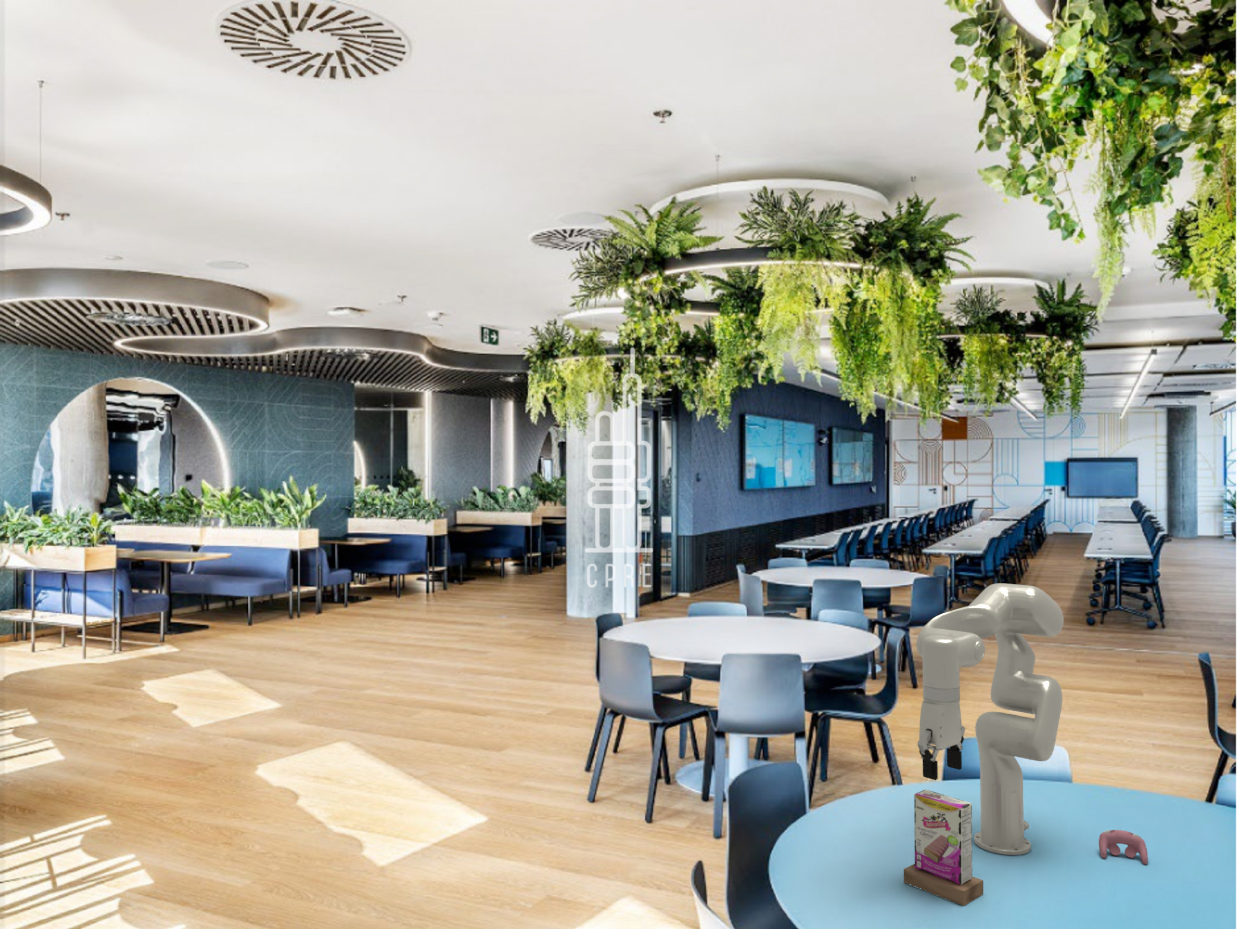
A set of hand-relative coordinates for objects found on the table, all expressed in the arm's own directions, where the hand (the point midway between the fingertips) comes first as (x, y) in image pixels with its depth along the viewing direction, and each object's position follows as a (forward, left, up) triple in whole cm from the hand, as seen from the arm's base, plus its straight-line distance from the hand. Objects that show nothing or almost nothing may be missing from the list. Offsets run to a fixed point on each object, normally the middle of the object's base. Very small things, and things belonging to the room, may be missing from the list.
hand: (942, 773), depth 193 cm
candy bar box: (0, 0, -22) cm, 22 cm away
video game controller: (-46, +19, -25) cm, 56 cm away
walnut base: (0, 0, -25) cm, 25 cm away
